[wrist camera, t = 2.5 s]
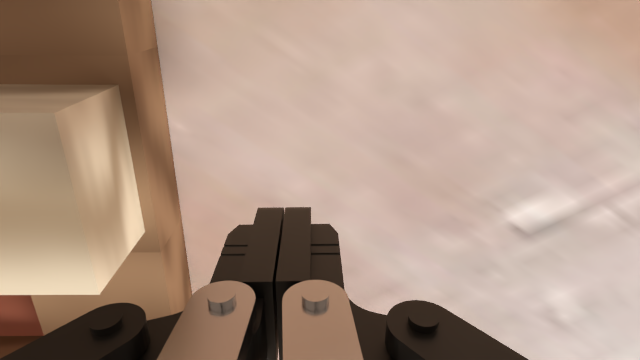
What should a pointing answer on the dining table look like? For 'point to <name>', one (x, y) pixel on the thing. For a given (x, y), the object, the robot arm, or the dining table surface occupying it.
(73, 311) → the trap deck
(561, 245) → the dining table surface
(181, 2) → the dining table surface
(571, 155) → the dining table surface
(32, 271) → the block
